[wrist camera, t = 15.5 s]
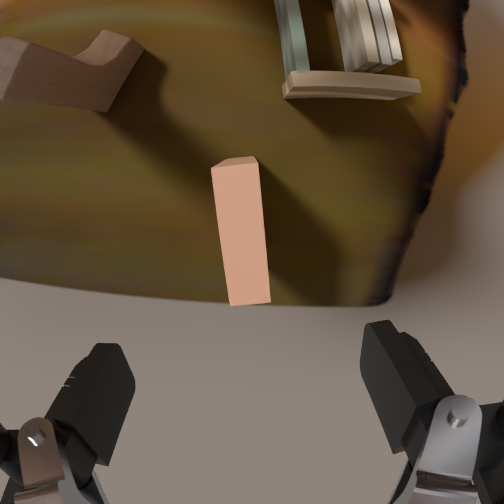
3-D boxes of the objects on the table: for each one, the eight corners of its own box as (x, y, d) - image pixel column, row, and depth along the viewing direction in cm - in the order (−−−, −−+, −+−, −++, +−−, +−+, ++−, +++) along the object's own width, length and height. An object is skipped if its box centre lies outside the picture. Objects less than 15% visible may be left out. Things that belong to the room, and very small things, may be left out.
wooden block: (118, 38, 25) (32, -17, 8) (146, 49, 26) (66, -14, 9) (82, 101, 28) (-24, 88, 11) (108, 113, 29) (2, 102, 12)
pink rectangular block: (226, 158, 31) (211, 168, 18) (253, 156, 31) (258, 162, 18) (236, 244, 35) (230, 305, 22) (262, 241, 35) (270, 302, 22)
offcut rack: (265, -24, 23) (269, -54, 16) (367, -17, 22) (387, -40, 16) (283, 98, 29) (293, 86, 22) (391, 100, 28) (421, 93, 22)
